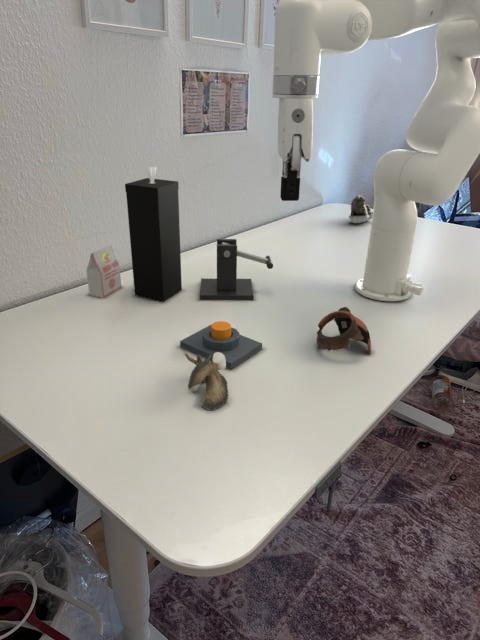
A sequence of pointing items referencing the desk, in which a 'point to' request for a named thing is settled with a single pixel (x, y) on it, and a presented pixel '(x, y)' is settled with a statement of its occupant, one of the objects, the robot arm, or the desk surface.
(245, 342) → the control block
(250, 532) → the desk surface
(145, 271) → the black tall block
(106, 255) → the strawberry milk carton
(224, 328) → the warm button
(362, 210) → the bison figurine
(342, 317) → the brown curved open piece
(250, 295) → the lever press stand
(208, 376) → the furry animal figurine
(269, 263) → the switch lever
